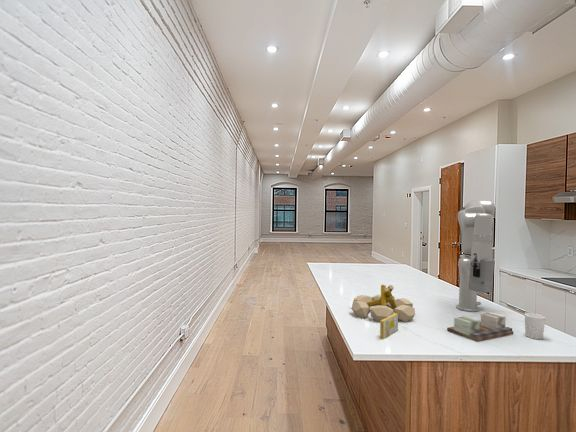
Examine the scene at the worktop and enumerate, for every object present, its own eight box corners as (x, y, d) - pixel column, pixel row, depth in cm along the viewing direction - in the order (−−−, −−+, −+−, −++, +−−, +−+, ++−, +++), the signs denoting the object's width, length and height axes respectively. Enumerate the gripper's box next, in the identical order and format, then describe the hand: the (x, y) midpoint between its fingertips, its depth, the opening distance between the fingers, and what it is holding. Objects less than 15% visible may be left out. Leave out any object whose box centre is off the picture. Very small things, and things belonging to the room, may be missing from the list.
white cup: (535, 340, 163) (536, 318, 163) (520, 334, 171) (520, 313, 171) (548, 339, 165) (549, 317, 165) (532, 333, 173) (533, 312, 173)
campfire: (419, 326, 180) (419, 292, 180) (350, 321, 187) (351, 288, 187) (409, 308, 215) (410, 280, 214) (352, 304, 221) (353, 277, 221)
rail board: (482, 324, 185) (482, 310, 185) (513, 334, 171) (513, 318, 171) (447, 330, 174) (447, 315, 174) (477, 341, 159) (477, 325, 159)
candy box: (394, 329, 174) (394, 312, 174) (398, 330, 173) (398, 313, 172) (379, 338, 161) (380, 320, 161) (384, 339, 160) (384, 321, 160)
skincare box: (468, 289, 174) (468, 257, 174) (478, 288, 177) (478, 256, 177) (484, 293, 167) (484, 259, 166) (494, 292, 170) (495, 259, 169)
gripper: (487, 238, 179) (486, 274, 179) (463, 238, 171) (462, 276, 172) (501, 239, 172) (500, 276, 172) (477, 240, 165) (476, 279, 165)
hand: (481, 276), depth 172 cm, fingers closed on skincare box, 6 cm apart
